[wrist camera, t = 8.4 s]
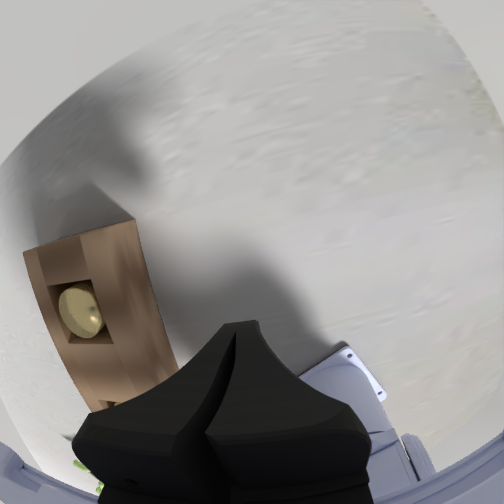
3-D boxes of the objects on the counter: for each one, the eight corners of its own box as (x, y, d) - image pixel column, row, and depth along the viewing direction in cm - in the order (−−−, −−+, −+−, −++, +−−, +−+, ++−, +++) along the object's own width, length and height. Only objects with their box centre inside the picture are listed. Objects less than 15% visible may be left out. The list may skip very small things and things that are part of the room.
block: (202, 423, 25) (194, 458, 20) (132, 419, 25) (118, 448, 20) (135, 219, 20) (102, 229, 15) (58, 239, 20) (22, 252, 15)
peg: (133, 310, 22) (106, 338, 17) (98, 313, 22) (70, 338, 17) (119, 266, 21) (88, 286, 16) (85, 272, 21) (52, 291, 16)
